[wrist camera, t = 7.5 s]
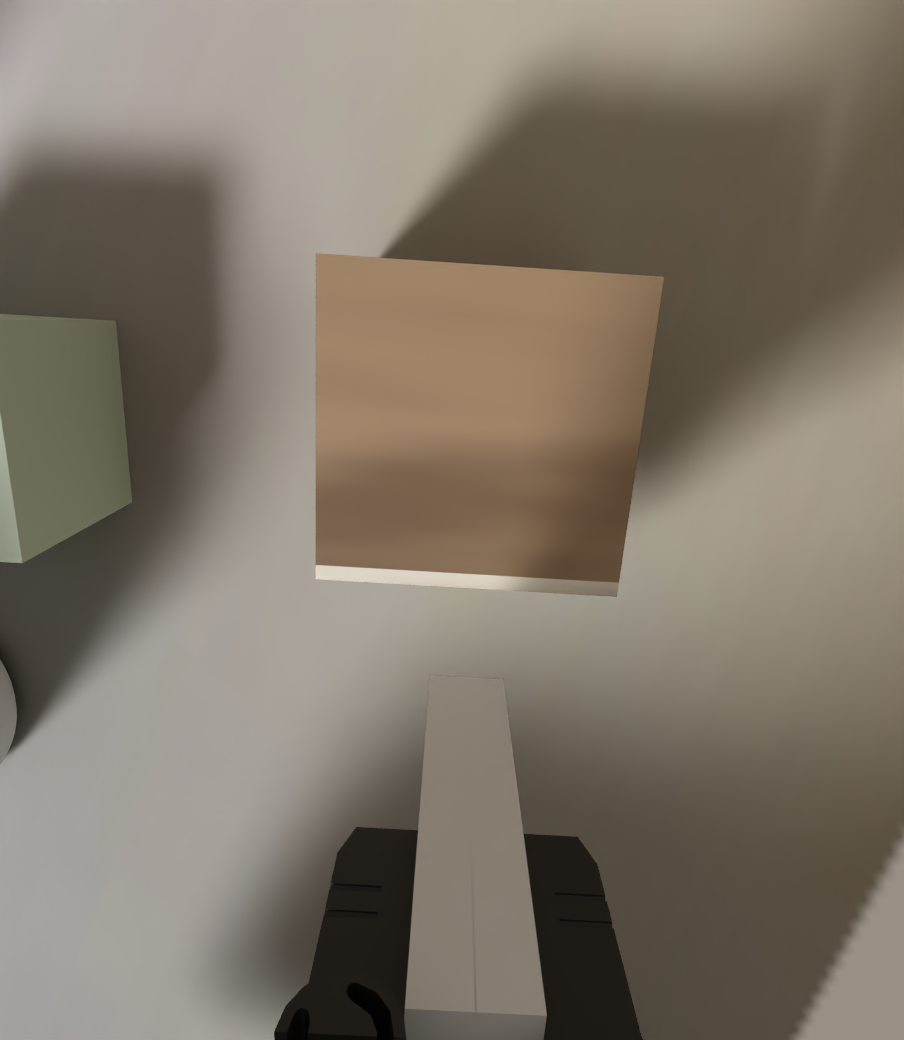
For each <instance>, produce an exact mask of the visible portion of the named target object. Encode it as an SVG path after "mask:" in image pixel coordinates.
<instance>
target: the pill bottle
mask: <svg viewBox="0 0 904 1040" xmlns="http://www.w3.org/2000/svg"><path fill="white" fill-rule="evenodd" d="M16 722H17V707H16V700H15V694H14V690H13V687H12V683H11V680H10V678H9V675H8V673H7V671H6V669H5V667H4V665H3V663H2V662H1V660H0V764H1V763H2V761H3V760H4V758H5V756H6V754H7V753H8V751H9V748H10V746H11V743H12V741H13V737H14V734H15V729H16Z"/></svg>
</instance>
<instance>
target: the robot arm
mask: <svg viewBox="0 0 904 1040" xmlns="http://www.w3.org/2000/svg"><path fill="white" fill-rule="evenodd" d="M274 1036H275V1040H643V1039H642V1036H641V1033H640V1030H639V1026H638V1022H637V1018H636V1014H635V1010H634V1006H633V1002H632V998H631V995H630V991H629V987H628V983H627V979H626V975H625V971H624V967H623V963H622V959H621V956H620V952H619V948H618V944H617V940H616V936H615V932H614V929H612V920H611V917H610V913H609V909H608V905H607V902H605V893H604V889H603V885H602V881H601V878H600V874H599V870H598V866H597V863H596V862H595V861H594V859H593V858H592V856H591V855H590V854H589V852H588V851H587V850H586V848H585V847H584V845H583V844H582V843H581V841H580V840H579V839H578V837H570V836H551V835H533V834H523V827H522V819H521V811H520V804H519V796H518V788H517V780H516V773H515V765H514V757H513V749H512V742H511V734H510V726H509V718H508V711H507V703H506V695H505V688H504V680H503V679H492V678H474V677H456V676H438V675H430V678H429V691H428V705H427V718H426V731H425V745H424V758H423V772H422V785H421V798H420V812H419V825H418V830H400V829H381V828H362V827H356V829H355V830H354V831H353V833H352V834H351V835H350V837H349V838H348V839H347V841H346V842H345V843H344V845H343V846H342V847H341V849H340V850H339V851H338V853H337V858H336V862H335V867H334V872H333V876H332V881H331V888H330V890H329V894H328V899H327V903H326V908H325V915H324V917H323V921H322V926H321V930H320V935H319V939H318V944H317V948H316V953H315V957H314V962H313V966H312V971H311V975H310V980H309V984H307V985H305V986H304V987H303V988H302V989H301V990H300V991H299V992H298V993H297V994H296V995H295V997H294V998H293V999H292V1000H291V1001H290V1002H289V1003H288V1004H287V1005H286V1007H285V1009H284V1011H283V1013H282V1016H281V1018H280V1020H279V1022H278V1025H277V1027H276V1029H275V1031H274Z"/></svg>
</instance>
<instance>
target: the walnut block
mask: <svg viewBox="0 0 904 1040" xmlns="http://www.w3.org/2000/svg"><path fill="white" fill-rule="evenodd" d="M663 282H664V277H661V276H646V275H631V274H616V273H601V272H586V271H571V270H556V269H541V268H526V267H511V266H496V265H481V264H466V263H451V262H436V261H421V260H406V259H391V258H377V257H362V256H347V255H332V254H317V253H316V579H322V580H339V581H356V582H374V583H391V584H408V585H425V586H442V587H459V588H477V589H494V590H511V591H528V592H545V593H562V594H580V595H597V596H614V597H617V591H618V584H619V578H620V571H621V564H622V557H623V551H624V544H625V537H626V531H627V524H628V517H629V510H630V504H631V497H632V490H633V484H634V477H635V470H636V463H637V457H638V450H639V443H640V436H641V430H642V423H643V416H644V410H645V403H646V396H647V389H648V383H649V376H650V369H651V363H652V356H653V349H654V342H655V336H656V329H657V322H658V316H659V309H660V302H661V295H662V289H663Z"/></svg>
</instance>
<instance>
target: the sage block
mask: <svg viewBox="0 0 904 1040" xmlns="http://www.w3.org/2000/svg"><path fill="white" fill-rule="evenodd" d="M130 503H132V493H131V482H130V471H129V460H128V449H127V438H126V427H125V416H124V405H123V394H122V382H121V371H120V360H119V349H118V338H117V327H116V321H113V320H96V319H80V318H63V317H47V316H31V315H14V314H0V562H8V563H24V562H26V561H27V560H29V559H31V558H33V557H35V556H36V555H38V554H40V553H42V552H44V551H45V550H47V549H49V548H51V547H53V546H54V545H56V544H58V543H60V542H62V541H63V540H65V539H67V538H69V537H71V536H72V535H74V534H76V533H78V532H80V531H81V530H83V529H85V528H87V527H89V526H90V525H92V524H94V523H96V522H98V521H99V520H101V519H103V518H105V517H107V516H108V515H110V514H112V513H114V512H116V511H117V510H119V509H121V508H123V507H125V506H126V505H128V504H130Z"/></svg>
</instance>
